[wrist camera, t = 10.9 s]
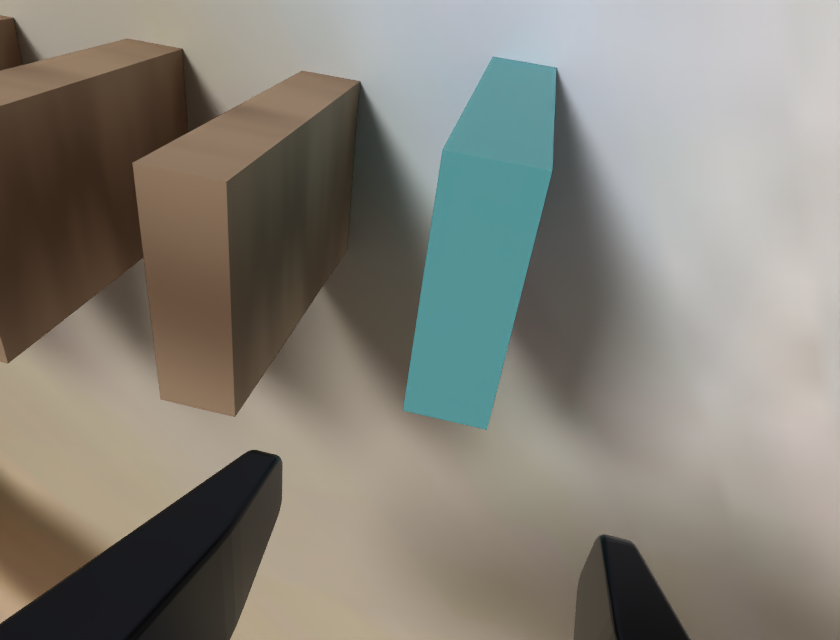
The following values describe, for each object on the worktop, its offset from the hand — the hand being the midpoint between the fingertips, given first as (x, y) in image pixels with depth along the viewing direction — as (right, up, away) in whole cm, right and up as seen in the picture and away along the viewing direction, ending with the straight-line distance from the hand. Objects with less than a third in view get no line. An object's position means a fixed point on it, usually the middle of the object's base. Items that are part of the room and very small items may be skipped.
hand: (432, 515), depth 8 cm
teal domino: (+2, +7, +9) cm, 12 cm away
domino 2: (-3, +7, +10) cm, 13 cm away
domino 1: (-8, +8, +11) cm, 15 cm away
